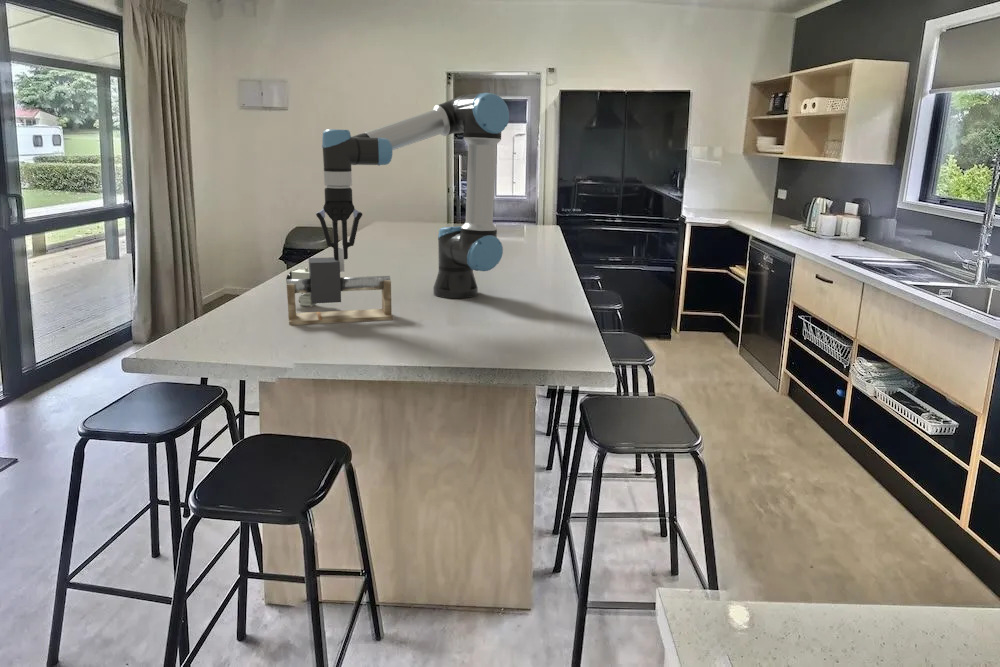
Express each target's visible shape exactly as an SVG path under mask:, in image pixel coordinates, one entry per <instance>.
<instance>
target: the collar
mask: <svg viewBox="0 0 1000 667" xmlns="http://www.w3.org/2000/svg"><path fill="white" fill-rule="evenodd" d="M308 270H309V277H310V279H311V293H310V297H311V301H312V304H314V303H317V304H329V303H332V304H333V303H342V291H341V283H340V277H341V272H340V262H339V260H335V259H334V256H333V257H332V256H331V257H308Z"/></svg>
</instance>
